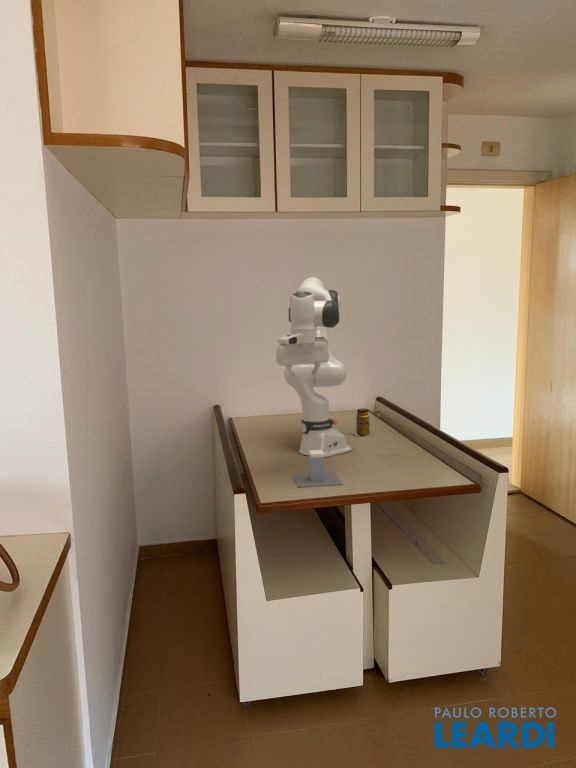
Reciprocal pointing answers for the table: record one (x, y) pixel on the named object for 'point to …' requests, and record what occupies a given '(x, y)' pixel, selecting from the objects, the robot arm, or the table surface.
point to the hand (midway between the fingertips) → (303, 376)
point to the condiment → (362, 422)
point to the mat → (305, 481)
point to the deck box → (316, 465)
